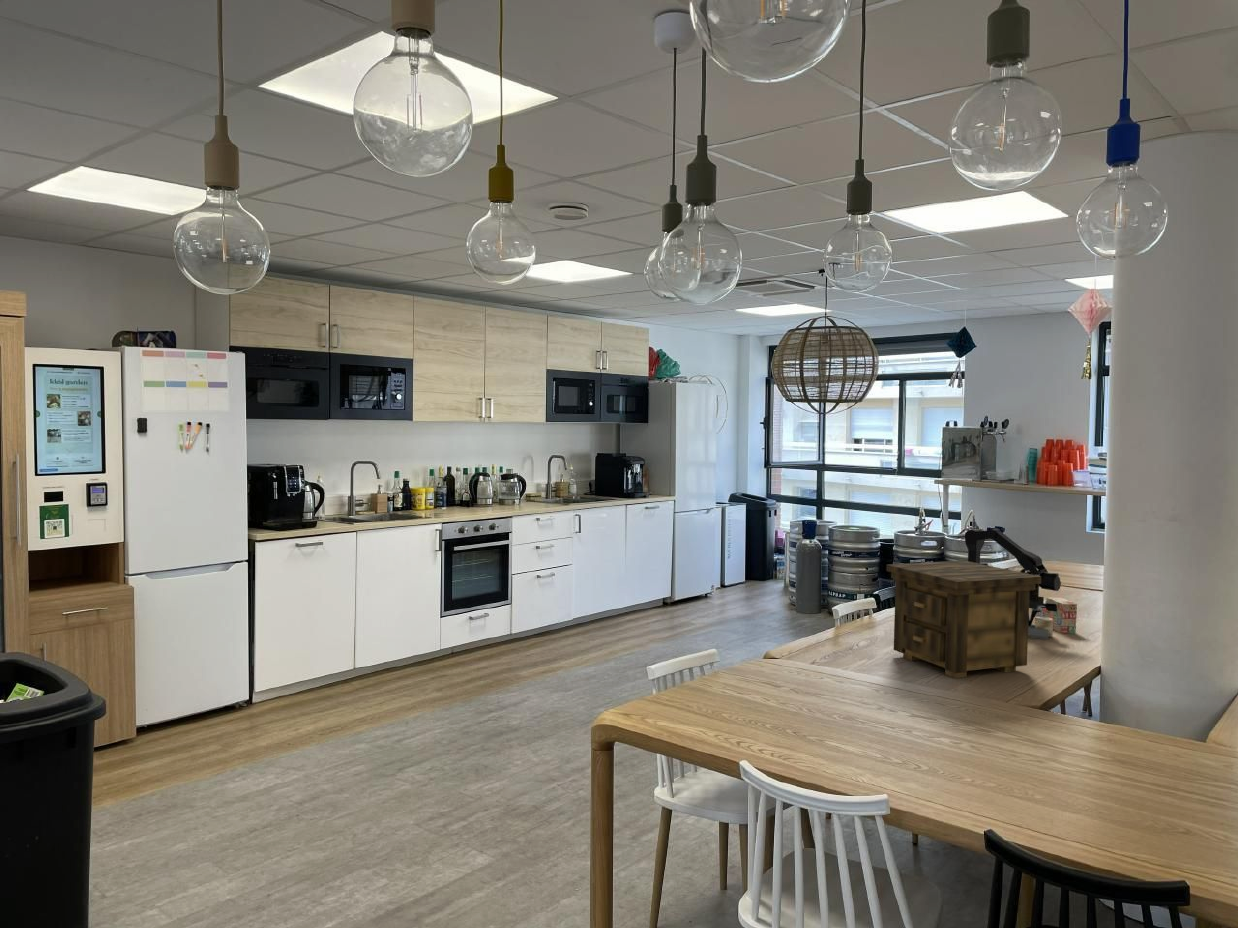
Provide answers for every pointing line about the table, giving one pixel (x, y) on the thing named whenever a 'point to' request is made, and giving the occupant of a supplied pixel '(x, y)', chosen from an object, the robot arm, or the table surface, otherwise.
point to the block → (1044, 624)
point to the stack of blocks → (1061, 615)
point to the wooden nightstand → (962, 615)
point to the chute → (1037, 632)
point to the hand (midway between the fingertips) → (1029, 625)
